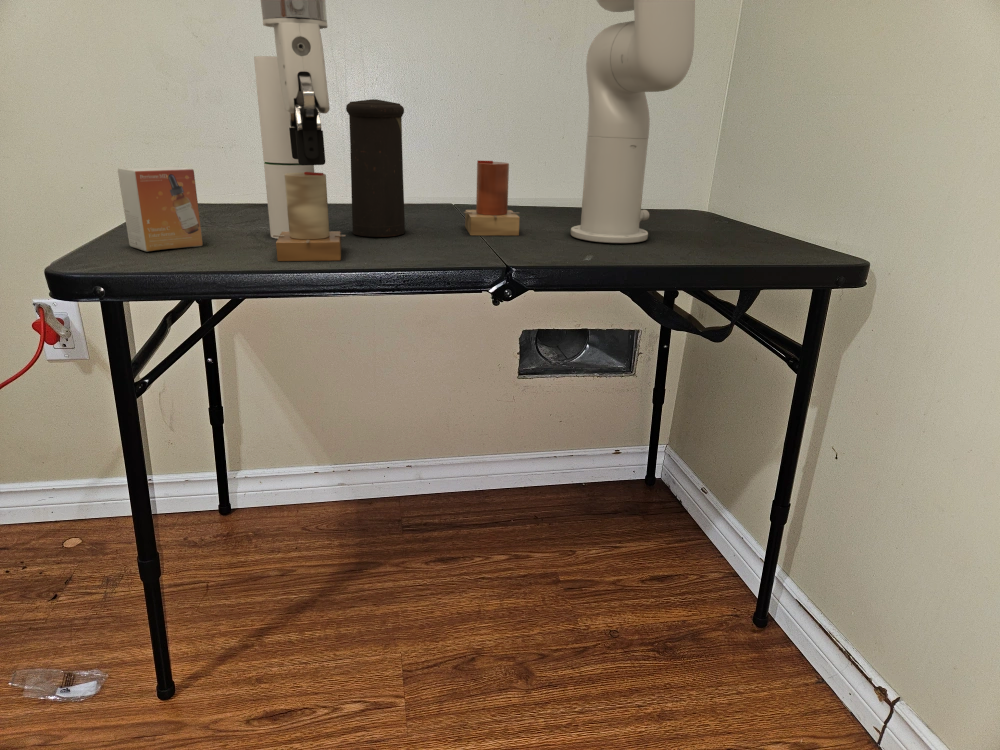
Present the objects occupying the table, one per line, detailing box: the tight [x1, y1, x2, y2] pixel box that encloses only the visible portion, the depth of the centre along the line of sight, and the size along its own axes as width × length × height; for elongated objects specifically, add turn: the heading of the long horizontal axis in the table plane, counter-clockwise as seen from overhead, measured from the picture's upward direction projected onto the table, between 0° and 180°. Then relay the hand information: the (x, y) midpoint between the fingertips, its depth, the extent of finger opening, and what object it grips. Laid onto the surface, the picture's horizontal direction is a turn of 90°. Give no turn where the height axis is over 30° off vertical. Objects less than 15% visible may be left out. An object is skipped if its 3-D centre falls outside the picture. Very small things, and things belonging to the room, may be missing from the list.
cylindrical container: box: [253, 55, 315, 240], centre depth 101 cm, size 7×7×25 cm
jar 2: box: [475, 159, 510, 215], centre depth 112 cm, size 5×5×8 cm
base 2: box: [463, 209, 521, 237], centre depth 114 cm, size 9×9×3 cm
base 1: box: [273, 230, 346, 262], centre depth 92 cm, size 9×9×3 cm
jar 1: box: [285, 171, 330, 239], centre depth 90 cm, size 5×5×8 cm
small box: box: [117, 165, 203, 252], centre depth 93 cm, size 8×6×10 cm
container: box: [345, 98, 406, 238], centre depth 106 cm, size 9×9×20 cm
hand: (308, 161), depth 88 cm, fingers open, 9 cm apart
